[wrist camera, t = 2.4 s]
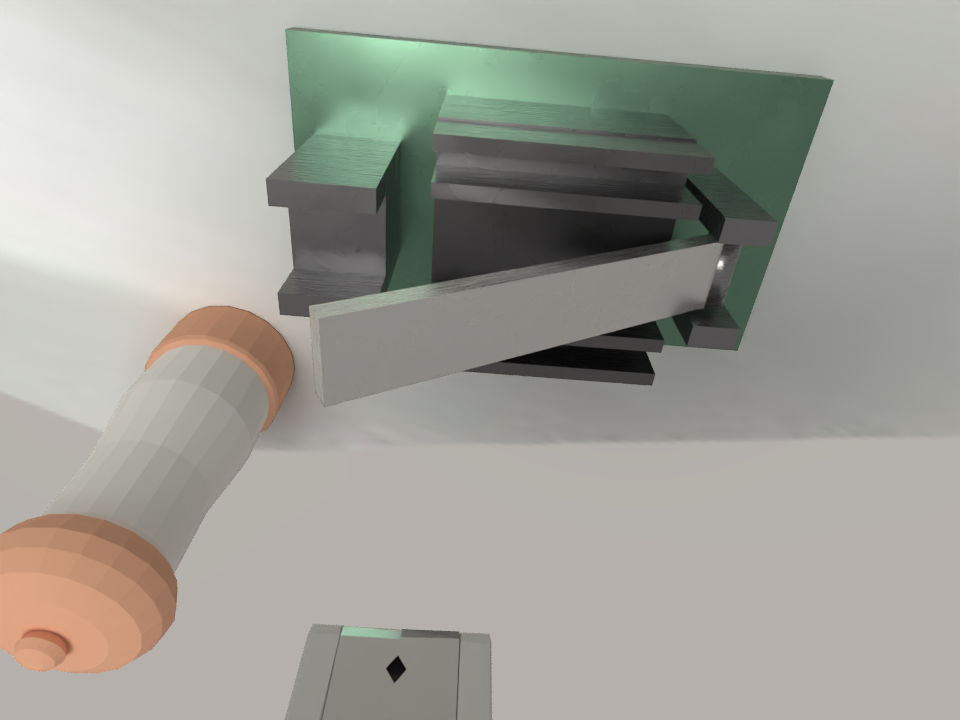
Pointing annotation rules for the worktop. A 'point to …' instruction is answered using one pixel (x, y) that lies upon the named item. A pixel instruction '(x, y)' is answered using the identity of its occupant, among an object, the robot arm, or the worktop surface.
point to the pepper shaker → (141, 498)
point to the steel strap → (508, 314)
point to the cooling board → (532, 175)
